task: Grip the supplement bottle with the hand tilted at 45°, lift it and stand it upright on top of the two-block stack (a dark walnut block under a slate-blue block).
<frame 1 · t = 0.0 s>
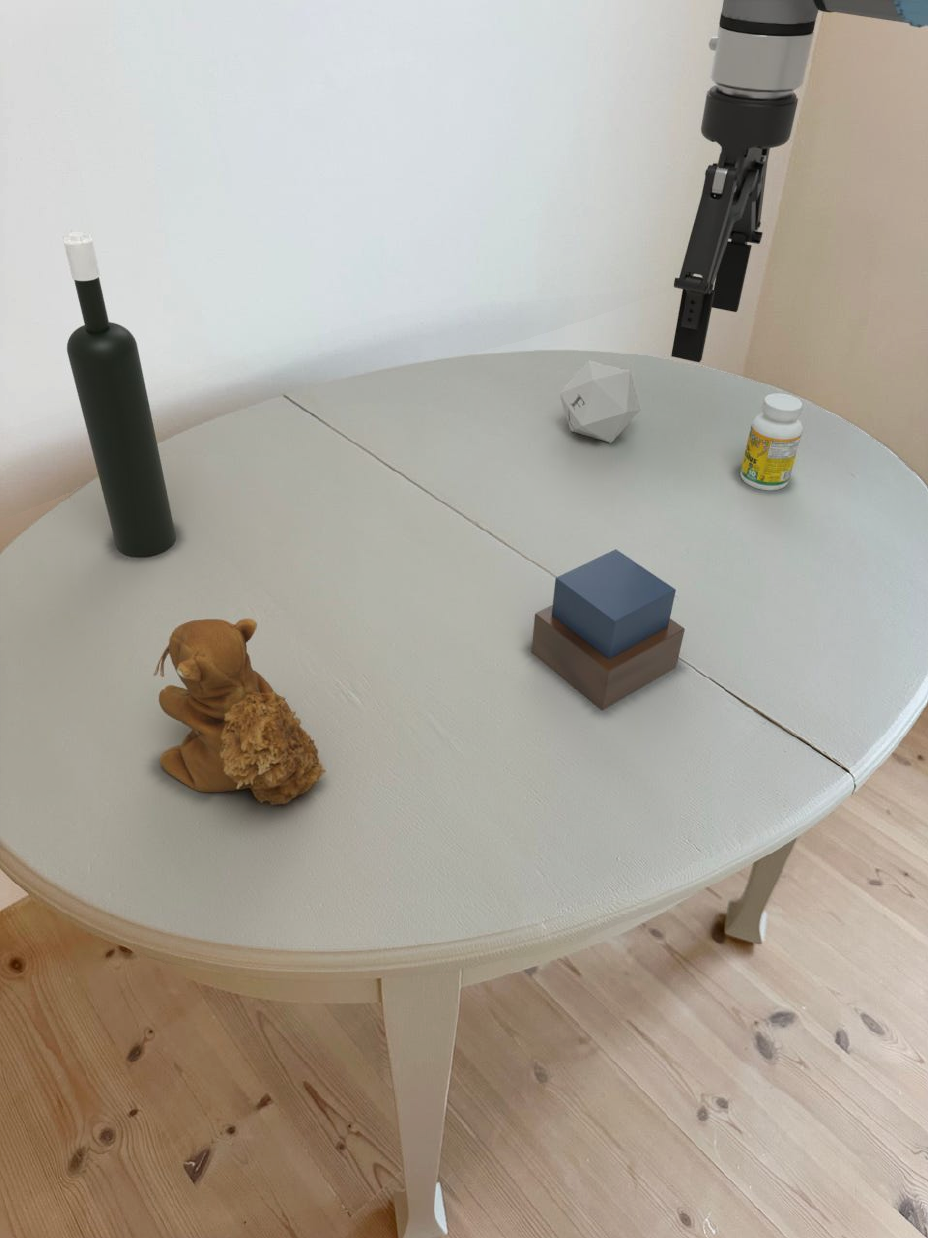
hand: (706, 332, 93), 18 cm above the table, tool pointing down, fingers open, 13 cm apart
top block: (609, 620, 81), point 4 cm above the table, touching base block
base block: (603, 660, 84), on the table, touching top block
die: (595, 433, 115), on the table
stuffed squirrel: (253, 770, 73), on the table
wine bottle: (146, 542, 96), on the table
supplement bottle: (763, 480, 108), on the table
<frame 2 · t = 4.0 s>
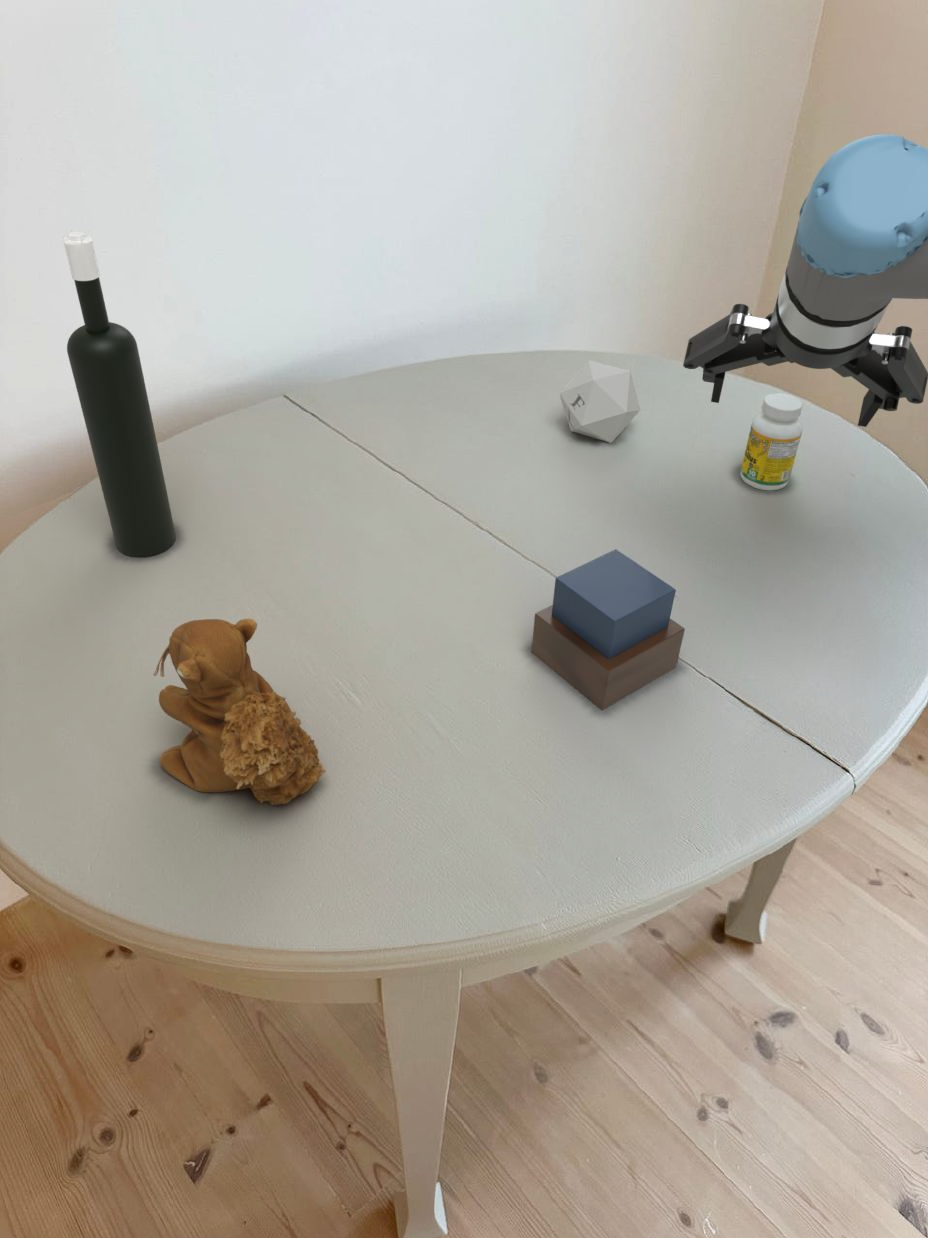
hand: (790, 400, 91), 15 cm above the table, tool tilted 45°, fingers open, 13 cm apart
nothing on the table moved.
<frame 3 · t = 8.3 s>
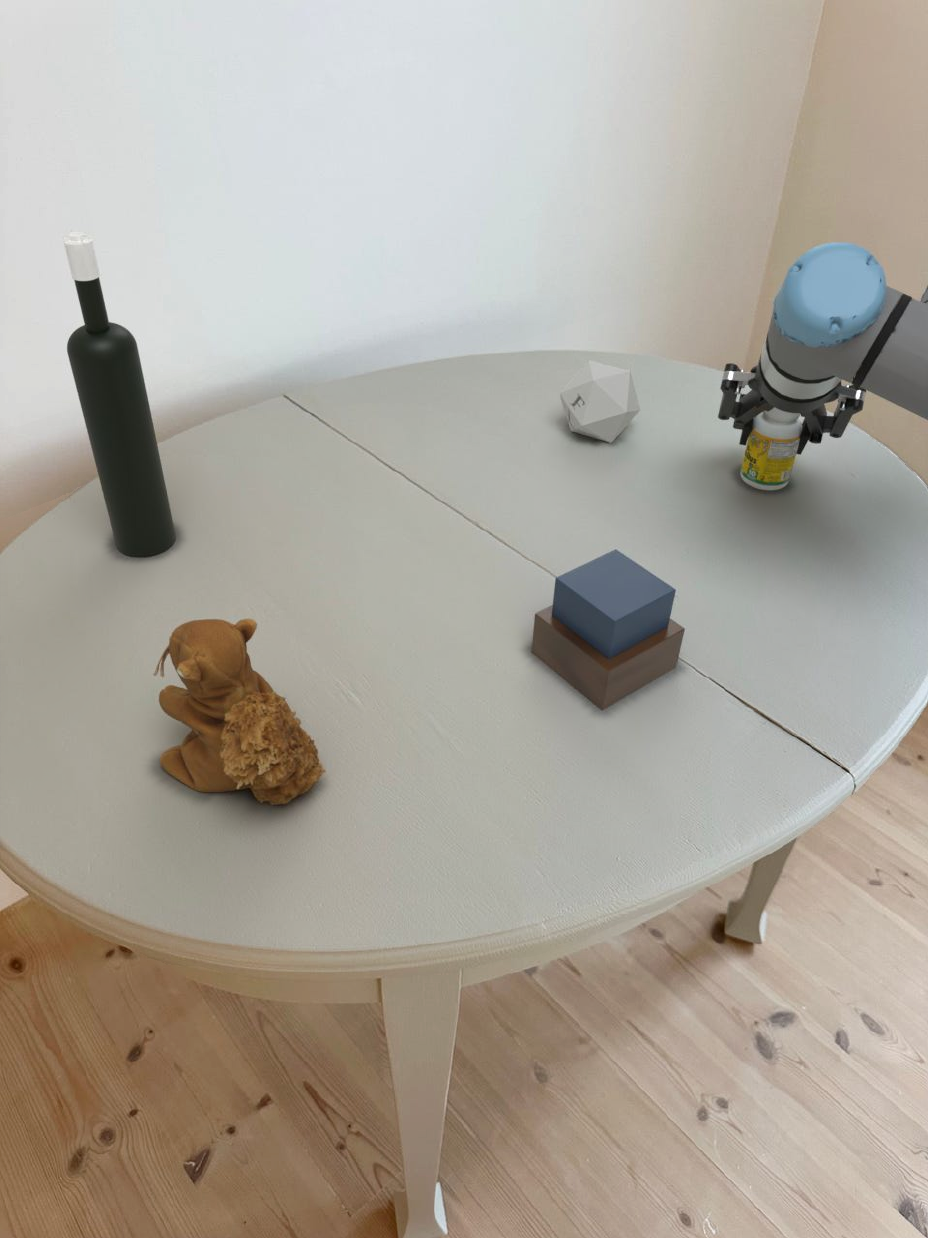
hand: (772, 437, 109), 3 cm above the table, tool tilted 45°, fingers closed on supplement bottle, 5 cm apart
supplement bottle: (763, 480, 108), on the table, touching gripper
everything else where it was.
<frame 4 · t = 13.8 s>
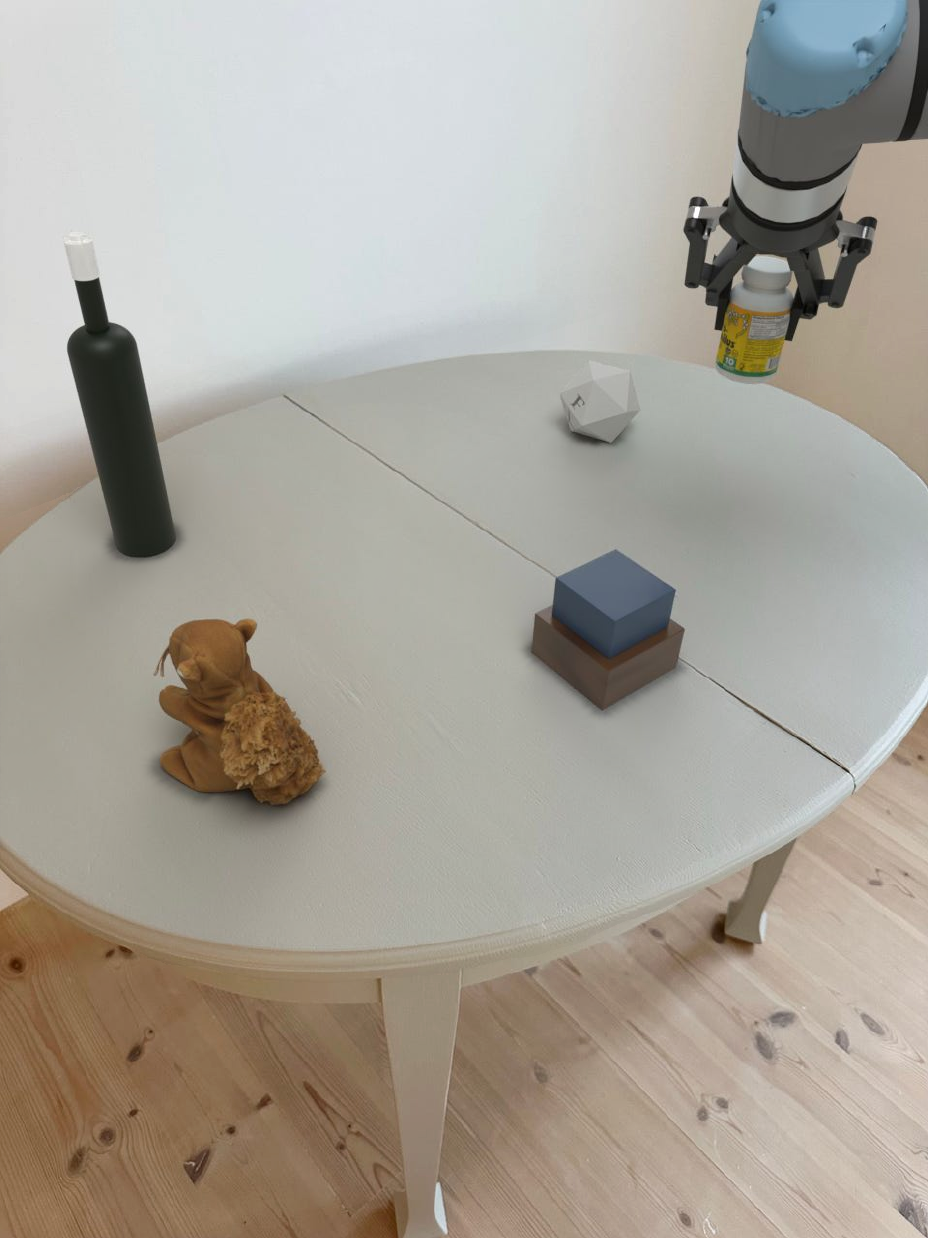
hand: (756, 320, 86), 22 cm above the table, tool tilted 45°, fingers closed on supplement bottle, 5 cm apart
supplement bottle: (743, 374, 85), point 19 cm above the table, touching gripper
everything else where it was.
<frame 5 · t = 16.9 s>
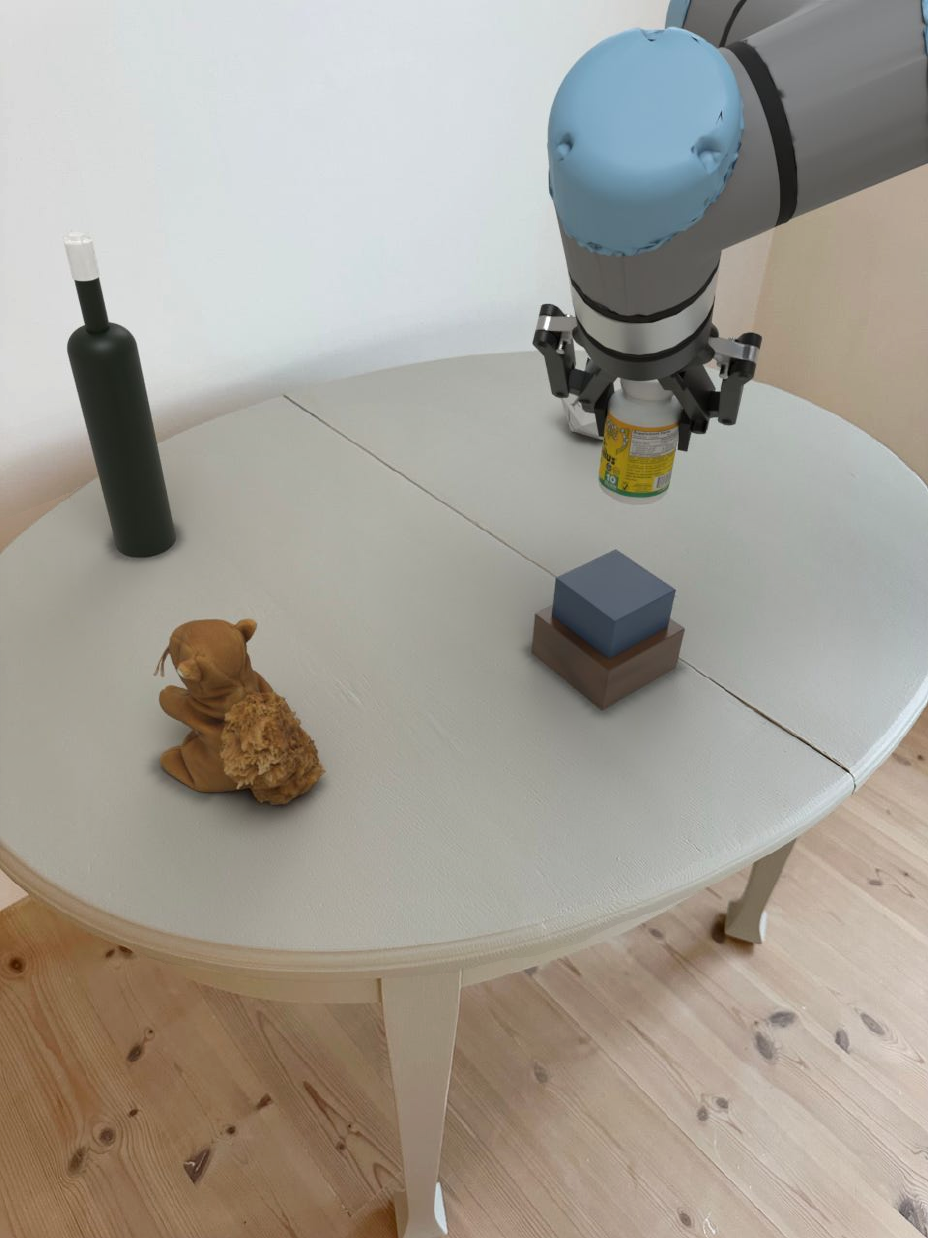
hand: (646, 426, 73), 21 cm above the table, tool tilted 45°, fingers closed on supplement bottle, 5 cm apart
supplement bottle: (631, 490, 73), point 17 cm above the table, touching gripper
everything else where it was.
when the fingers open (12 cm above the table, at t = 19.6 s): supplement bottle stays where it is, resting on top block.
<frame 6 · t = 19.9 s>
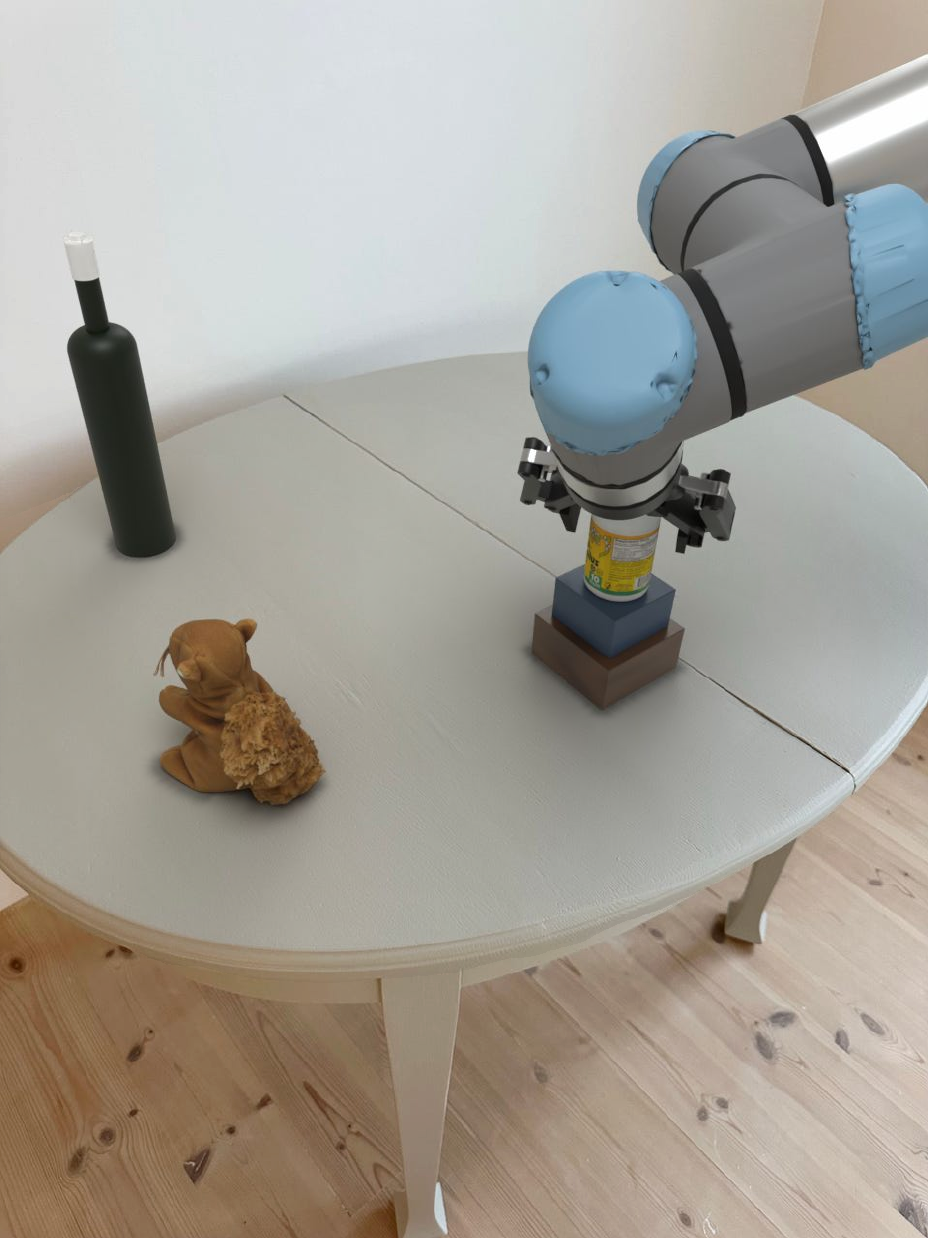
hand: (628, 526, 79), 12 cm above the table, tool tilted 45°, fingers open, 8 cm apart
top block: (609, 620, 81), point 4 cm above the table, touching base block, supplement bottle
supplement bottle: (615, 585, 78), point 8 cm above the table, touching top block
everything else where it was.
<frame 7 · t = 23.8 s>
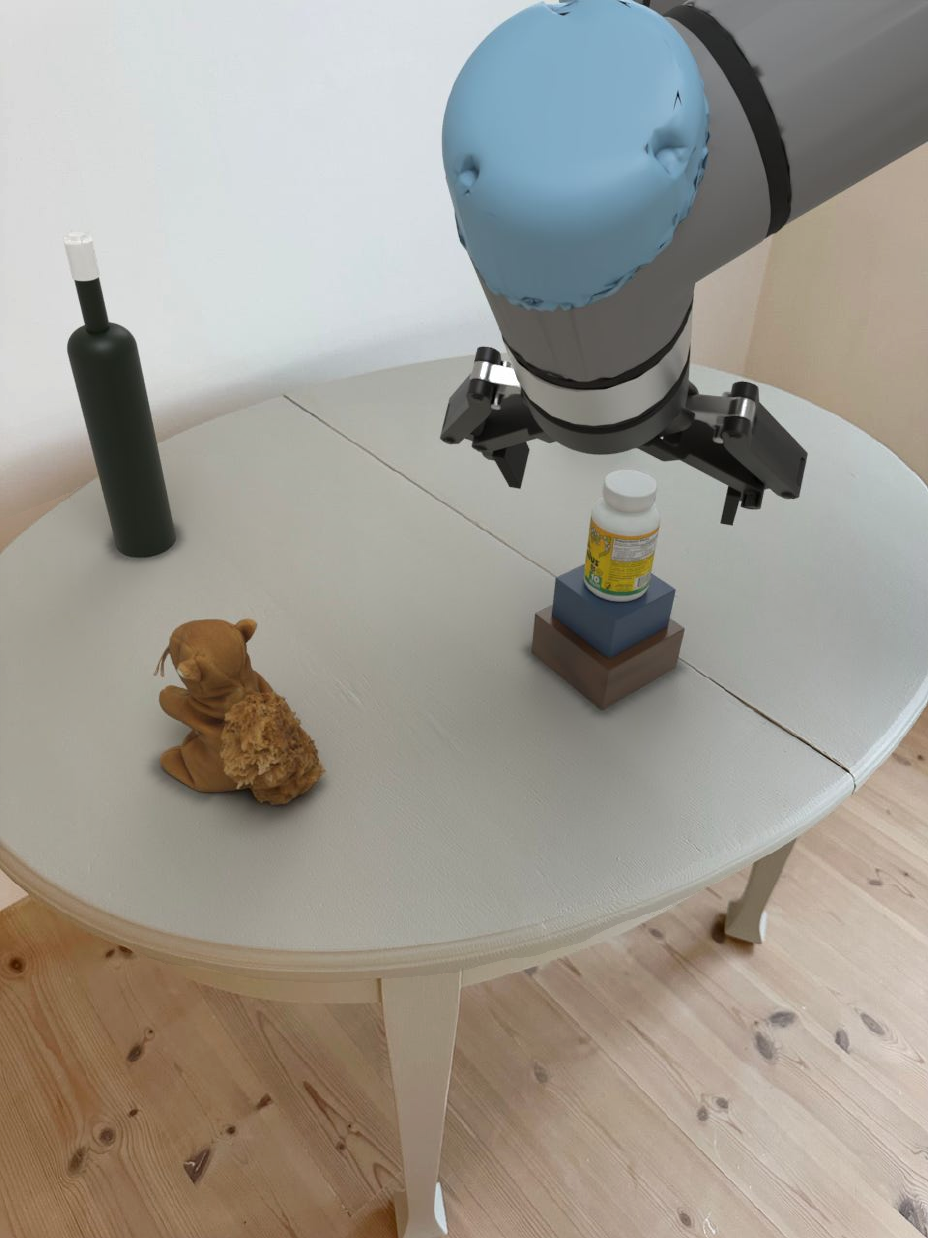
hand: (622, 485, 61), 24 cm above the table, tool tilted 45°, fingers open, 13 cm apart
nothing on the table moved.
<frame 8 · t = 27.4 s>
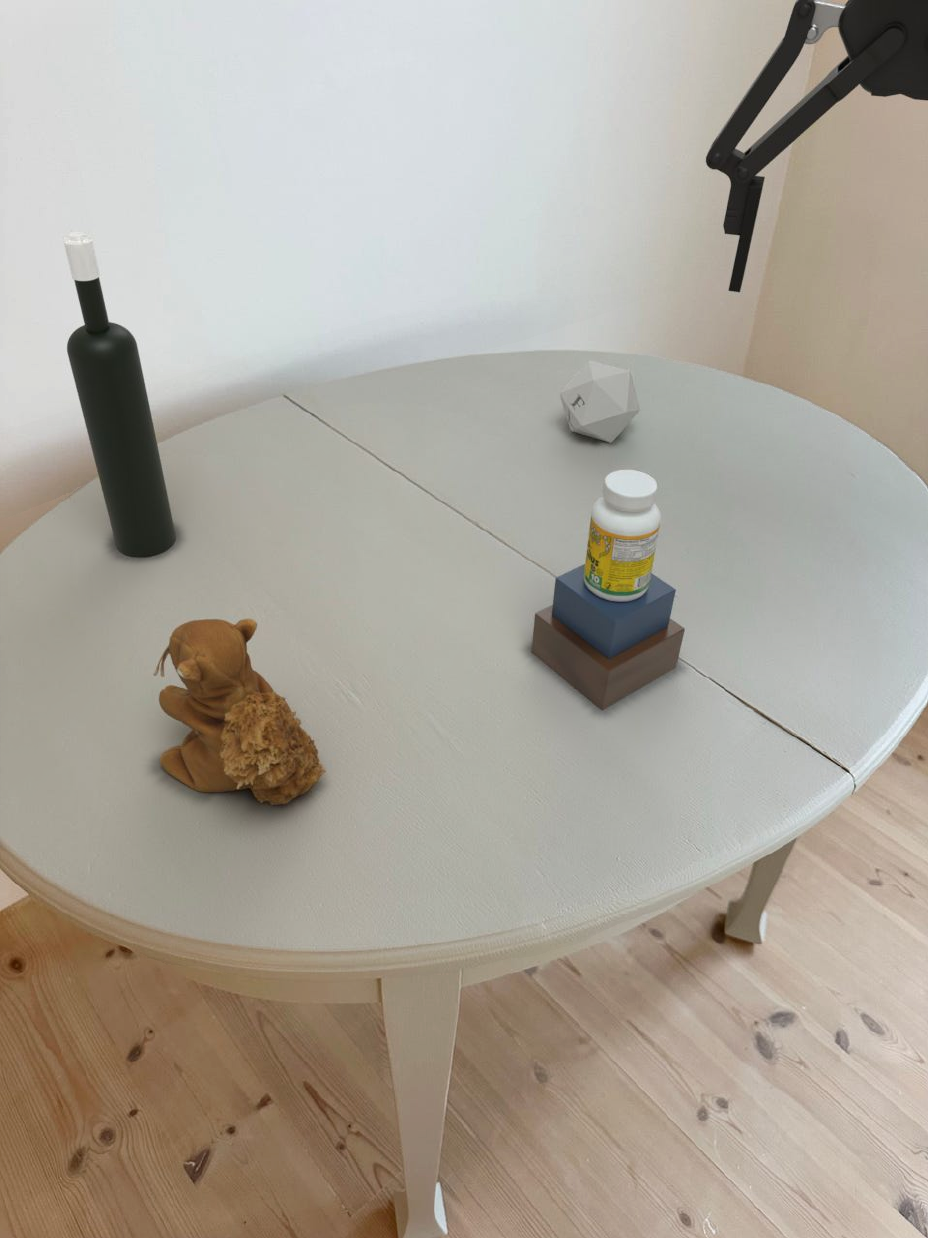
hand: (840, 299, 63), 33 cm above the table, tool pointing down, fingers open, 13 cm apart
nothing on the table moved.
at the end: supplement bottle 0.0 cm off-centre on the top block, point 3.8 cm above the top block's base; supplement bottle tilted 0°; top block 0.0 cm off-centre on the base block, point 4.5 cm above the base block's base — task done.
